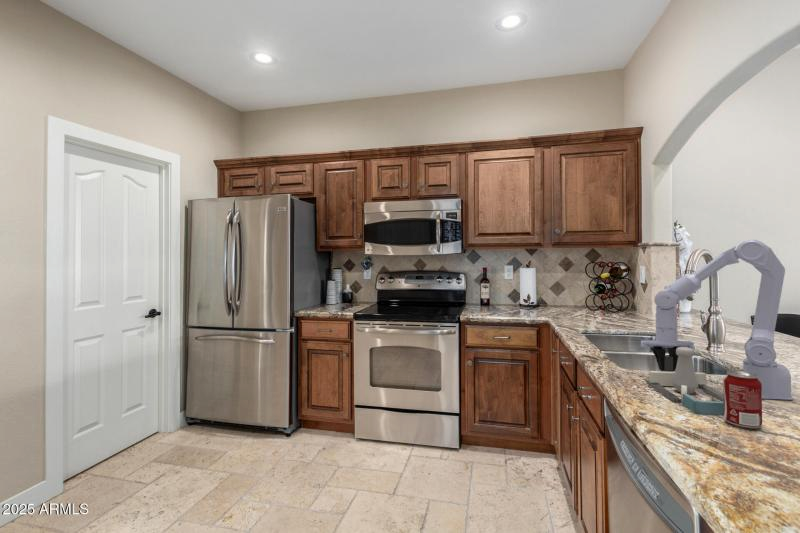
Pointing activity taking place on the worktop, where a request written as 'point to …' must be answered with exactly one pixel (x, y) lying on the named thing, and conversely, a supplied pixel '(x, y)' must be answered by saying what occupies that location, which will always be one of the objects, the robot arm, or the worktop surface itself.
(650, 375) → the pusher bar
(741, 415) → the soda can
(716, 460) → the worktop surface
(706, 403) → the frame
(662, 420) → the worktop surface
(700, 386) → the rails
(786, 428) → the worktop surface
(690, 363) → the salt shaker
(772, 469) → the worktop surface
